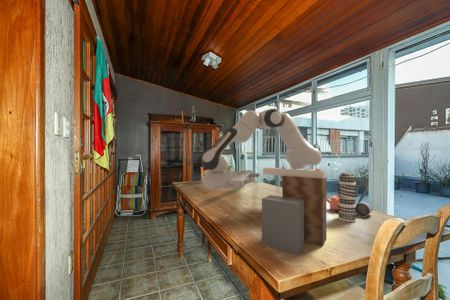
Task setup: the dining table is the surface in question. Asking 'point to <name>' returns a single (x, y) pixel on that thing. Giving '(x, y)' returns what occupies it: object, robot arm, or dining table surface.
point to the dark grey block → (283, 223)
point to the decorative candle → (347, 197)
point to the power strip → (295, 172)
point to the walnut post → (309, 205)
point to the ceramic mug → (363, 209)
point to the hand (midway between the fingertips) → (257, 177)
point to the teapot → (333, 202)
